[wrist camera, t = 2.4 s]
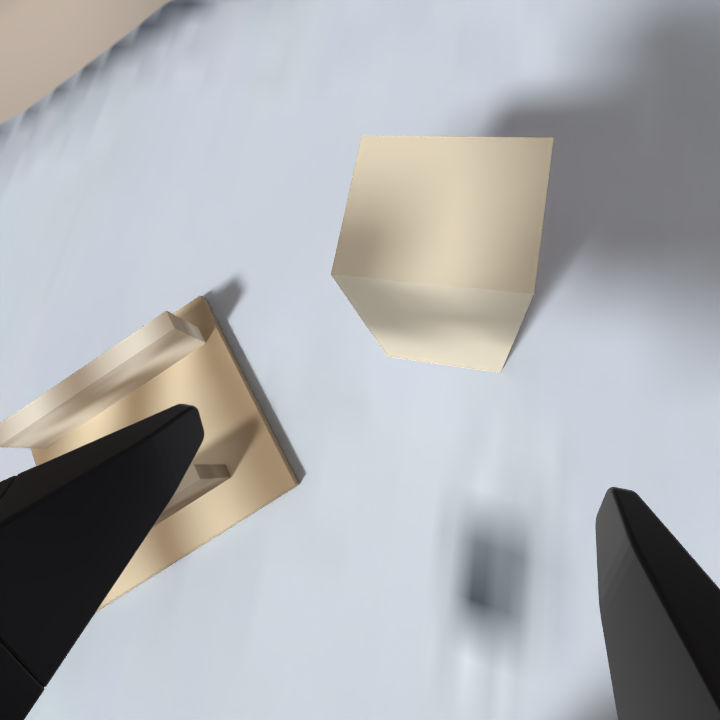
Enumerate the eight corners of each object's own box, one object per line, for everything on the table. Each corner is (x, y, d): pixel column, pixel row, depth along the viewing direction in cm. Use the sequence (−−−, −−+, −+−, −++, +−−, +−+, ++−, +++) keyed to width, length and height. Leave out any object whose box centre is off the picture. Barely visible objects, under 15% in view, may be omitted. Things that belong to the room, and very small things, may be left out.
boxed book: (514, 278, 24) (556, 130, 13) (501, 373, 23) (535, 294, 12) (403, 268, 25) (361, 129, 15) (386, 356, 24) (329, 274, 14)
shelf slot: (205, 299, 28) (169, 275, 24) (299, 484, 24) (271, 487, 20) (29, 417, 28) (-29, 410, 25) (91, 615, 24) (30, 639, 21)
